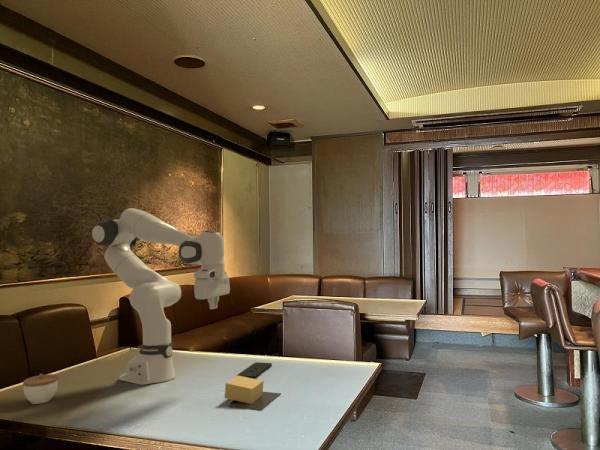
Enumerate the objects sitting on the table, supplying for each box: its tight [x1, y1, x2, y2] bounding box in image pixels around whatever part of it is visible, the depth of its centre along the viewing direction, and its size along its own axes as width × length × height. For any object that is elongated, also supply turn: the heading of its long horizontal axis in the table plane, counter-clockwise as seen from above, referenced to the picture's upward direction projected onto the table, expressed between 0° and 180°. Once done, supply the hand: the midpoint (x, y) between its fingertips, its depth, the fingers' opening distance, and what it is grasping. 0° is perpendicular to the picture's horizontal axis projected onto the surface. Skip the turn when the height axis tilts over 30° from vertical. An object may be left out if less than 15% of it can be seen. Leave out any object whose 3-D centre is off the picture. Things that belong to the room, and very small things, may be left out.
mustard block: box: [224, 375, 264, 404], centre depth 152 cm, size 5×9×10 cm
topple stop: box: [226, 391, 282, 411], centre depth 150 cm, size 13×16×1 cm
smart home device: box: [236, 361, 273, 379], centre depth 185 cm, size 8×2×20 cm
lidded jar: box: [22, 373, 59, 405], centre depth 155 cm, size 11×11×9 cm
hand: (213, 308), depth 168 cm, fingers closed
